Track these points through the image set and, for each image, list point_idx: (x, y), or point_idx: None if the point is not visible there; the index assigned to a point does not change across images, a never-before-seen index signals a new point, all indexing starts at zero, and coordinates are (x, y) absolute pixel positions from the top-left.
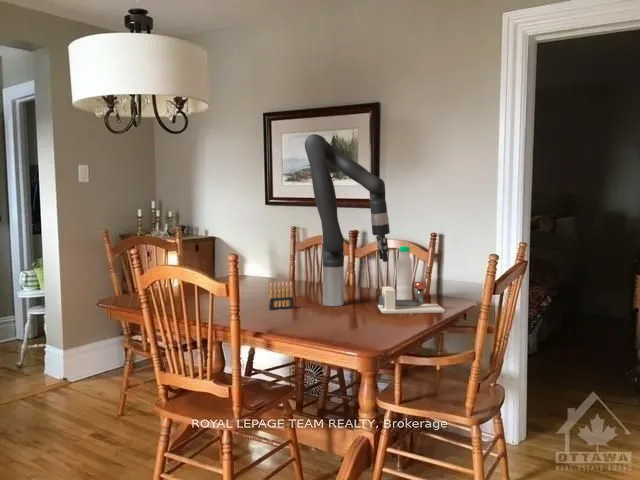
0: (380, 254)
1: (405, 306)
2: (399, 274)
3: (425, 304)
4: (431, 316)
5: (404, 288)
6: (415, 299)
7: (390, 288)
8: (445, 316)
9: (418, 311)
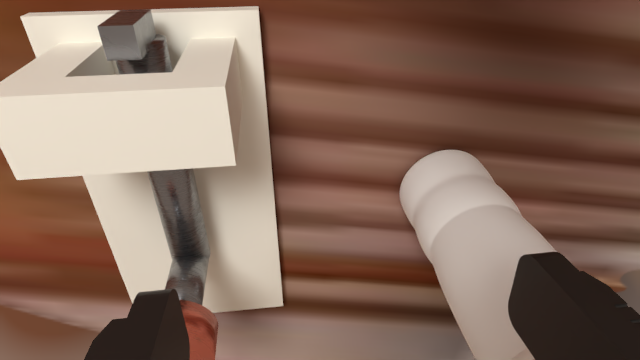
0: (582, 336)
1: (204, 176)
2: (488, 276)
3: (265, 265)
4: (31, 260)
5: (423, 231)
6: (186, 249)
7: (120, 150)
8: (51, 306)
9: (104, 222)
